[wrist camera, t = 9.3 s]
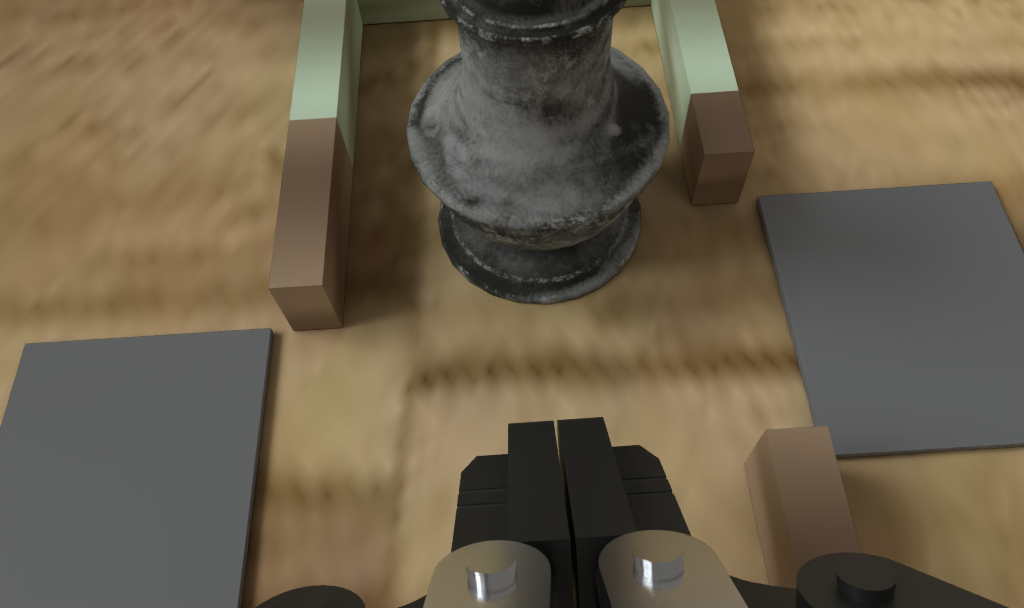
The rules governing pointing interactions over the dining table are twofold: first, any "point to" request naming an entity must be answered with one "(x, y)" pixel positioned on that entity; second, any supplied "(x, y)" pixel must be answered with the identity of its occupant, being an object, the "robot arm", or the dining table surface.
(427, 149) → the grey chess piece
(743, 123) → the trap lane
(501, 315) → the dining table surface
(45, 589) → the pads
